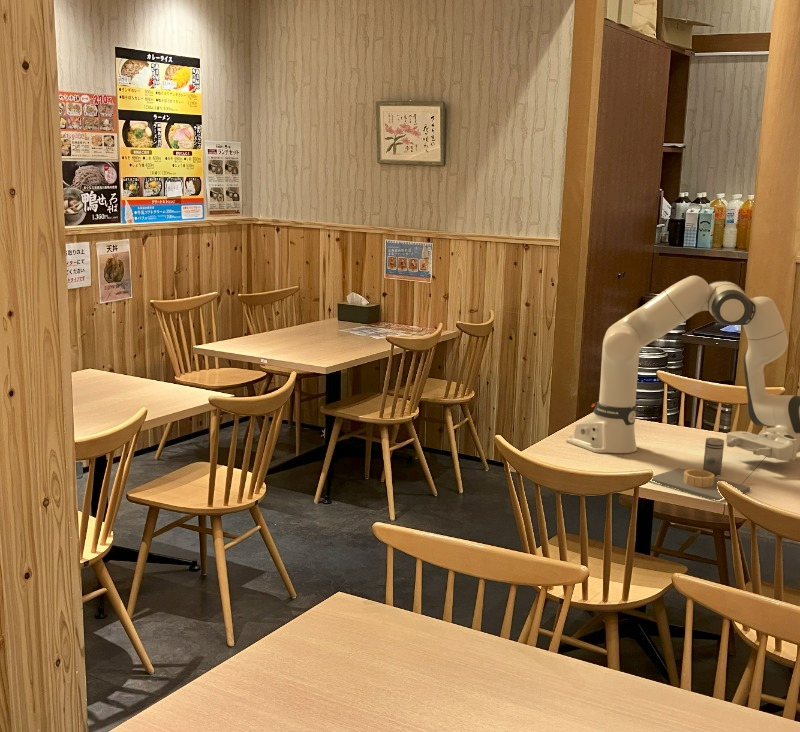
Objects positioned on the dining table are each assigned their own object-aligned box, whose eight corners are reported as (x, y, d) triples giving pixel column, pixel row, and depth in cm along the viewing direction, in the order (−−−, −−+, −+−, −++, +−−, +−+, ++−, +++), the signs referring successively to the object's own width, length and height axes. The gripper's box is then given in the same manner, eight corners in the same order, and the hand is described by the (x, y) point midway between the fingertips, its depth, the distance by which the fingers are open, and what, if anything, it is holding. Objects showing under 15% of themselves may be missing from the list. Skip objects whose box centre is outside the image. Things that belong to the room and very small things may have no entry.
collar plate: (647, 481, 269) (648, 469, 268) (678, 471, 279) (679, 459, 279) (719, 502, 253) (720, 489, 252) (749, 490, 263) (751, 478, 263)
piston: (699, 473, 278) (702, 439, 276) (708, 470, 282) (711, 436, 280) (715, 477, 275) (718, 443, 273) (724, 474, 278) (727, 440, 276)
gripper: (744, 424, 299) (714, 429, 291) (802, 440, 282) (772, 446, 274) (742, 444, 300) (712, 449, 293) (800, 461, 283) (769, 467, 276)
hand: (741, 448), depth 283 cm, fingers open, 8 cm apart
